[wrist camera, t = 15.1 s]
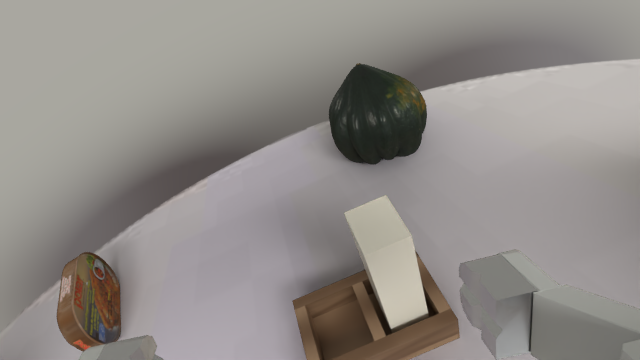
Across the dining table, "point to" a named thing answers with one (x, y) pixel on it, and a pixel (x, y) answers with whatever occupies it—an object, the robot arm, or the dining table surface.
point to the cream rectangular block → (389, 262)
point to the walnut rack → (369, 322)
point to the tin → (89, 302)
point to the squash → (376, 116)
